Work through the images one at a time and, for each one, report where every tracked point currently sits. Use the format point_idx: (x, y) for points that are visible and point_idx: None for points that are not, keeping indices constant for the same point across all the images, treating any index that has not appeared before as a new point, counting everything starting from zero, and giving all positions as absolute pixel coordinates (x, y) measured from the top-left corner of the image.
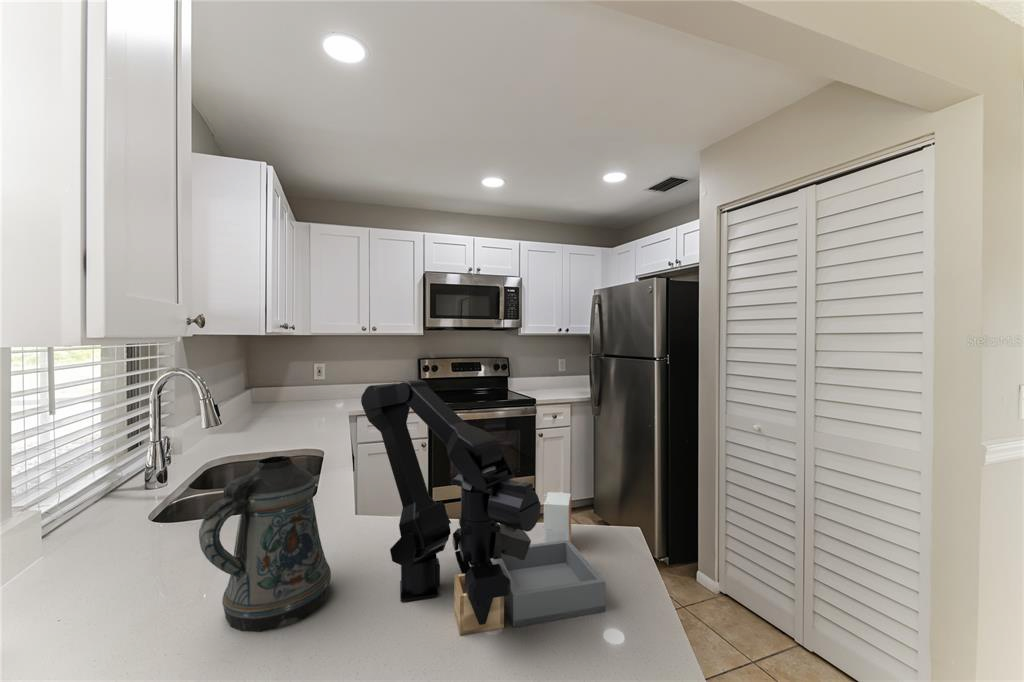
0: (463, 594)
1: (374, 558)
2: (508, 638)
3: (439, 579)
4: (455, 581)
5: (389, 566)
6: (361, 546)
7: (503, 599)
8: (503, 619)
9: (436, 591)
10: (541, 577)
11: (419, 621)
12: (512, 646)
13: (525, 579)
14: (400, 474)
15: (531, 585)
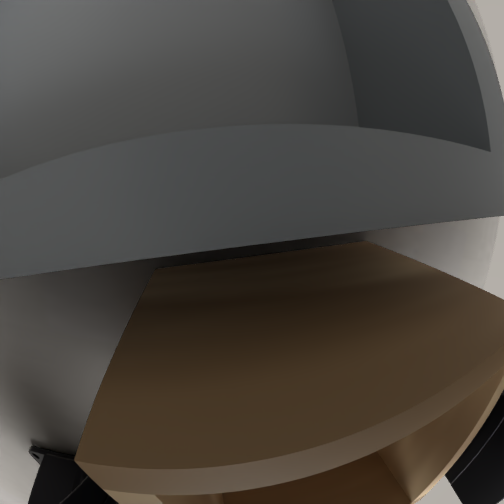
0: (416, 499)
1: (22, 490)
2: (418, 230)
3: (76, 481)
4: None
5: (32, 485)
6: (4, 487)
7: (478, 291)
8: (390, 252)
9: None
10: (28, 5)
11: None
12: (447, 223)
13: (5, 74)
14: None
15: (63, 34)
